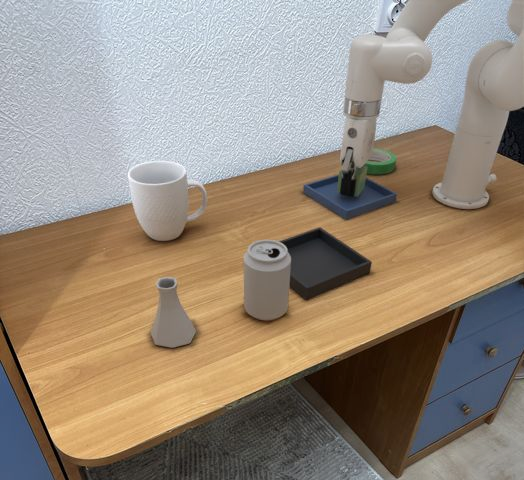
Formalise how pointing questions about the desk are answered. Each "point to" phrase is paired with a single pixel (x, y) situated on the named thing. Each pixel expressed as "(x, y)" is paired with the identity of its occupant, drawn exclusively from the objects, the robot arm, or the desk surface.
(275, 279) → the can
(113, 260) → the desk surface
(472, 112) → the robot arm
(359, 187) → the block
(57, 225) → the desk surface
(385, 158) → the tape roll
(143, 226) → the mug
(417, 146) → the desk surface
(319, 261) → the black shallow box
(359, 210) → the tray
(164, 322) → the flask
